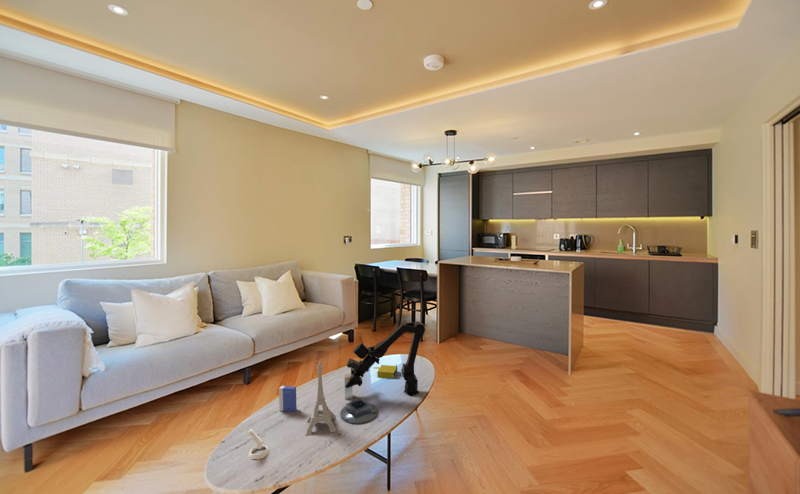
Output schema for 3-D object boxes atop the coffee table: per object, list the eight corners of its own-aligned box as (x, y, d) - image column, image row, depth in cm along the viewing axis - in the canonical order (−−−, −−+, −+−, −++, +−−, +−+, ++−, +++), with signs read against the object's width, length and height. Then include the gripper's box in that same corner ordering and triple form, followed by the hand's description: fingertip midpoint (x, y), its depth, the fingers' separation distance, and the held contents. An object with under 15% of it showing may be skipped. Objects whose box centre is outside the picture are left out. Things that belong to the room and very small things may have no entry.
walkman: (296, 409, 170) (296, 385, 169) (294, 412, 167) (293, 388, 166) (282, 408, 171) (281, 385, 170) (279, 410, 168) (278, 387, 168)
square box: (352, 395, 184) (352, 373, 184) (352, 398, 180) (352, 376, 180) (345, 395, 184) (344, 374, 183) (344, 399, 180) (344, 377, 179)
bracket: (376, 357, 220) (398, 359, 217) (376, 369, 220) (398, 370, 217) (369, 366, 204) (393, 368, 202) (369, 379, 205) (393, 381, 202)
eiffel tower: (335, 416, 163) (334, 355, 162) (335, 431, 150) (334, 366, 149) (306, 419, 161) (305, 357, 159) (305, 435, 148) (303, 368, 146)
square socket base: (364, 400, 178) (364, 392, 178) (384, 414, 164) (384, 405, 164) (333, 412, 167) (333, 403, 166) (352, 428, 153) (352, 418, 152)
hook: (237, 438, 137) (252, 425, 140) (255, 460, 138) (270, 446, 141) (235, 445, 130) (251, 430, 133) (255, 468, 131) (270, 453, 134)
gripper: (355, 348, 191) (336, 368, 190) (355, 360, 172) (334, 383, 171) (369, 361, 192) (350, 381, 191) (371, 374, 173) (349, 397, 172)
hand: (346, 385), depth 181 cm, fingers open, 5 cm apart
